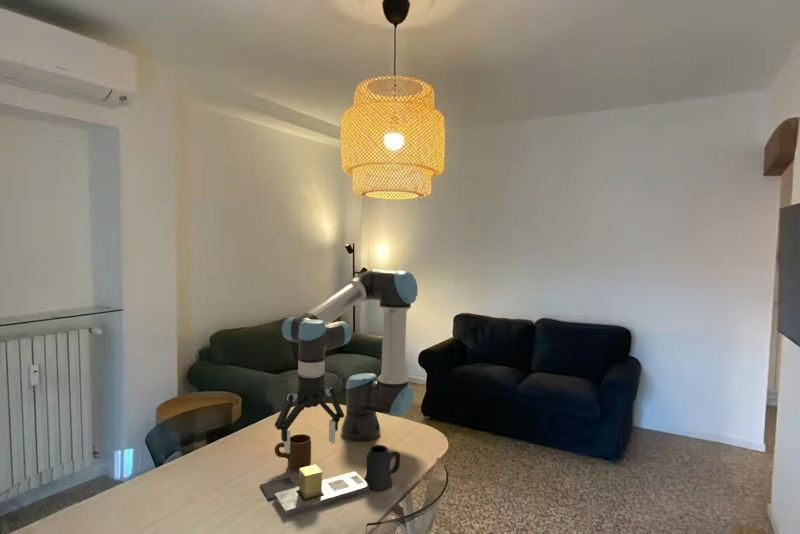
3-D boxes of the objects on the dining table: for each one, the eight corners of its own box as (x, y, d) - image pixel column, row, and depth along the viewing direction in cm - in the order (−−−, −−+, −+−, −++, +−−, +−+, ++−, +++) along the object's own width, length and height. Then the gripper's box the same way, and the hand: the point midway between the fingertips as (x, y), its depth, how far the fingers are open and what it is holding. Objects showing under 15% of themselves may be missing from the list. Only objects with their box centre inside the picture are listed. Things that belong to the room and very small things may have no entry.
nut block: (315, 493, 139) (315, 464, 139) (321, 501, 135) (321, 471, 135) (299, 498, 137) (299, 468, 136) (305, 506, 132) (305, 476, 132)
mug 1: (276, 476, 149) (276, 447, 148) (272, 465, 156) (272, 438, 155) (313, 469, 154) (313, 441, 153) (307, 459, 161) (307, 432, 160)
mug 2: (371, 494, 139) (372, 458, 139) (358, 480, 147) (359, 446, 147) (405, 484, 146) (406, 449, 145) (391, 471, 153) (392, 438, 153)
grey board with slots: (354, 477, 149) (355, 471, 149) (369, 492, 141) (369, 485, 141) (274, 500, 135) (274, 493, 135) (285, 517, 127) (285, 510, 127)
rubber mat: (288, 478, 147) (288, 476, 147) (298, 492, 140) (298, 490, 140) (260, 486, 143) (260, 484, 143) (268, 500, 135) (268, 498, 135)
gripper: (345, 366, 143) (343, 433, 144) (264, 376, 130) (263, 450, 131) (356, 372, 137) (354, 442, 138) (272, 383, 124) (271, 461, 125)
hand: (310, 446), depth 135 cm, fingers open, 13 cm apart
